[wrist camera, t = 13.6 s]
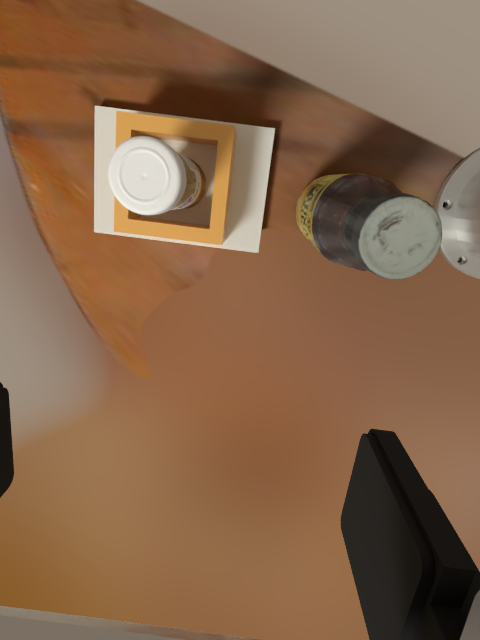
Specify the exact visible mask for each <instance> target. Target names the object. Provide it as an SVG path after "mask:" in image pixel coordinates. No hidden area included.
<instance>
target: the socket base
mask: <svg viewBox="0 0 480 640" xmlns="http://www.w3.org/2000/svg"><path fill="white" fill-rule="evenodd" d="M274 133H275V128H268V127H260V126H252V125H245V124H237V123H229V122H221V121H213V120H205V119H197V118H189V117H182V116H174V115H166V114H158V113H150V112H142V111H134V110H126V109H119V108H111V107H103V106H95V166H94V232H97V233H105V234H113V235H121V236H129V237H137V238H145V239H152V240H160V241H168V242H176V243H184V244H192V245H200V246H208V247H215V248H223V249H231V250H239V251H248V252H255V253H258V252H259V244H260V237H261V229H262V222H263V215H264V207H265V200H266V192H267V185H268V177H269V170H270V163H271V155H272V148H273V140H274ZM136 136H149V137H153V138H156V139H159V140H161V141H163V142H165V143H166V144H168V145H169V146H171V147H172V148H173V149H174V150H175V151H176V152H178V153H179V154H181V155H183V156H185V157H187V158H189V159H191V160H193V161H195V162H196V163H197V164H198V165H199V166H200V167H201V169H202V170H203V172H204V174H205V178H206V190H205V194H204V196H203V198H202V199H201V201H200V202H199V203H198V204H196V205H195V206H193V207H191V208H187V209H175V210H169V211H167V212H165V213H162V214H157V215H141V214H137V213H134V212H132V211H130V210H128V209H127V208H126V207H124V206H123V205H122V204H121V203H120V202H119V201H118V200H117V199H116V197H115V195H114V194H113V192H112V190H111V187H110V184H109V179H108V166H109V161H110V158H111V156H112V154H113V152H114V151H115V149H116V148H117V147H118V146H119V145H120V144H121V143H122V142H124V141H125V140H127V139H129V138H132V137H136Z"/></svg>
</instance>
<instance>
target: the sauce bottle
mask: <svg viewBox="0 0 480 640" xmlns="http://www.w3.org/2000/svg"><path fill="white" fill-rule="evenodd" d="M296 219H297V224H298V226H299V228H300V230H301V232H302V233H303V235H304V236H305V237H306V238H307V239H308V240H309V241H310V242H311V243H312V244H313V245H314V246H315V247H316V249H317V250H318V251H320V253H321V254H322V255H323V256H324V257H326V258H327V259H328V260H330V261H332V262H335V263H338V264H341V265H344V266H348V267H351V268H354V269H358V270H361V271H366V270H369V271H370V272H372V273H374V274H376V275H378V276H381V277H383V278H387V279H402V278H407V277H410V276H413V275H415V274H417V273H418V272H420V271H422V270H423V269H424V268H425V267H426V266H427V265H429V264H430V263H431V261H432V260H433V259H434V257H435V256H436V254H437V252H438V250H439V248H440V245H441V241H442V224H441V219H440V217H439V215H438V213H437V211H436V210H435V209H434V208H433V207H432V206H431V205H430V204H429V203H428V202H426V201H424V200H422V199H420V198H418V197H415V196H412V195H409V194H405V193H402V192H401V191H400V190H399V189H398V188H397V187H396V186H395V185H394V184H393V183H391V182H390V181H387V180H385V179H383V178H379V177H377V176H373V175H366V174H358V173H357V174H338V175H326V176H322V177H320V178H317V179H315V180H314V181H312V182H311V183H310V184H309V185H307V186H306V187H305V189H304V190H303V192H302V193H301V195H300V197H299V199H298V202H297V207H296Z"/></svg>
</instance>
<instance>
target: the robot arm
mask: <svg viewBox="0 0 480 640" xmlns="http://www.w3.org/2000/svg"><path fill="white" fill-rule="evenodd" d="M444 202H445V203H446V205H445V207H443V203H444ZM434 209H435V210H436V211H437V213H438V215H439V217H440V219H441V224H442V241H441V245H440V248H439V250H440V252H441V254H442V256H443V257H444V258H445V259H446V260H447V262H448V263H449V264H450V265H452V266H453V267H455V268H456V269H457V270H458V271H461V272H463V273H465V274H467V275H469V276H472V277H475V278H479V279H480V148H479V149H477V150H475V151H474V152H472V153H471V154H470V155H468V156H467V157H465V158H464V159H463V160H462V161H461V162H460V163H459V164H458V165H457V166H456V167H455V168H454V169H453V170H452V171H451V173H450V174H449V175H448V177H447V178H446V179H445V181H444V183H443V185H442V187H441V189H440V191H439V193H438V195H437V198H436V202H435V205H434ZM459 257H460V260H459V261H458V258H459ZM13 476H14V467H13V451H12V436H11V422H10V407H9V393H8V390H7V389H6V388H3V385H2V384H1V383H0V497H1V496H2V495H3V494H4V493H5V491H6V490H7V489H8V488H9V486H10V484H11V482H12V480H13ZM341 529H342V533H343V537H344V542H345V545H346V549H347V553H348V557H349V560H350V565H351V569H352V573H353V576H354V580H355V584H356V588H357V592H358V595H359V600H360V604H361V608H362V612H363V615H364V619H365V623H366V627H367V631H368V635H369V639H370V640H480V572H479V570H478V568H477V567H476V565H475V563H474V562H473V560H472V558H471V557H470V555H469V553H468V552H467V550H466V548H465V547H464V545H463V543H462V542H461V540H460V538H459V537H458V535H457V533H456V531H455V530H454V528H453V526H452V525H451V523H450V521H449V520H448V518H447V517H446V515H445V513H444V511H443V510H442V508H441V506H440V505H439V503H438V501H437V500H436V498H435V496H434V495H433V493H432V492H431V491H430V490H428V488H427V486H426V484H425V483H424V481H423V479H422V478H421V476H420V474H419V473H418V471H417V469H416V467H415V466H414V464H413V462H412V461H411V459H410V457H409V456H408V454H407V452H406V451H405V449H404V447H403V446H402V444H401V442H400V440H399V439H398V437H397V435H396V434H395V433H394V432H392V431H384V430H377V429H371V430H370V431H369V433H368V434H362V436H361V439H360V442H359V447H358V451H357V454H356V459H355V462H354V466H353V471H352V475H351V479H350V482H349V487H348V490H347V494H346V499H345V502H344V507H343V510H342V515H341ZM0 640H259V639H251V638H244V637H237V636H229V635H222V634H214V633H206V632H200V631H191V630H184V629H177V628H169V627H162V626H154V625H146V624H138V623H129V622H123V621H115V620H107V619H100V618H92V617H84V616H76V615H68V614H60V613H52V612H44V611H36V610H28V609H21V608H13V607H4V606H0Z"/></svg>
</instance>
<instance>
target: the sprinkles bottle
mask: <svg viewBox="0 0 480 640" xmlns="http://www.w3.org/2000/svg"><path fill="white" fill-rule="evenodd" d="M108 179H109V184H110V187H111V190H112V192H113V194H114V195H115V197H116V199H117V200H118V201H119V202H120V203H121V204H122V205H123V206H124V207H126V208H127V209H128V210H130V211H132V212H134V213H137V214H141V215H157V214H162V213H165V212H167V211H169V210H175V209H187V208H191V207H193V206H195V205H196V204H198V203H199V202H200V201H201V199H202V198H203V196H204V194H205V190H206V178H205V174H204V172H203V170H202V169H201V167H200V166H199V165H198V164H197V163H196V162H195V161H193V160H191V159H189V158H187V157H185V156H183V155H181V154H179V153H178V152H176V151H175V150H174V149H173V148H172V147H171V146H169V145H168V144H166V143H165V142H163V141H161V140H159V139H156V138H153V137H149V136H136V137H132V138H129V139H127V140H125V141H124V142H122V143H121V144H120V145H119V146H118V147H117V148H116V149H115V151H114V152H113V154H112V156H111V158H110V161H109V166H108Z"/></svg>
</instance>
